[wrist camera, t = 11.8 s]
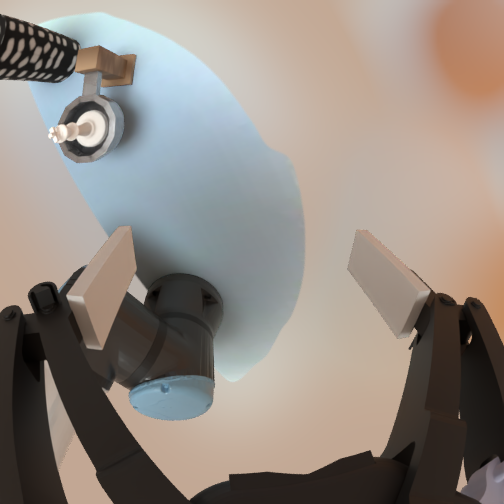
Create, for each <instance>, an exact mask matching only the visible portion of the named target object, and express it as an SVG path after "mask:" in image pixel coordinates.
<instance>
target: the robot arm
mask: <svg viewBox="0 0 504 504" xmlns="http://www.w3.org/2000/svg"><path fill="white" fill-rule="evenodd" d="M347 269H348V271H349V272H350V273H351V275H352V276H353V277H354V279H355V280H356V281H357V282H358V284H359V285H360V287H361V288H362V289H363V291H364V292H365V293H366V295H367V296H368V297H369V299H370V300H371V302H372V303H373V305H374V306H375V307H376V308H377V310H378V312H379V313H380V314H381V316H382V317H383V319H384V320H385V322H386V323H387V325H388V326H389V327H390V329H391V330H392V332H393V333H394V335H395V336H396V338H397V339H401V338H406V337H409V335H410V334H411V332H412V330H413V328H415V329H416V330H417V334H416V337H415V338H414V340H413V342H412V343H411V346H410V347H409V350H410V349H411V348H412V347H413V350H412V355H411V361H410V366H409V370H408V375H407V379H406V384H405V388H404V392H403V395H402V400H401V403H400V407H399V410H398V413H397V417H396V420H395V423H394V426H393V430H392V432H391V435H390V438H389V441H388V444H387V446H386V448H385V450H384V452H383V453H382V455H381V456H380V457H373V456H372V453H371V451H370V450H369V451H366V452H363V453H360V454H357V455H353V456H349V457H345V458H342V459H339V460H337V461H335V462H333V463H331V464H329V465H327V466H325V467H323V468H321V469H319V470H317V471H314V472H312V473H310V474H304V475H303V474H286V473H285V474H284V473H273V472H260V473H247V474H229V481H225V482H221V483H219V484H215V485H213V486H211V487H209V488H206V489H205V490H203V491H201V492H199V493H198V494H197V495H195V496H194V497H193V498H191V499H190V500H187V498H186V497H184V495H183V494H182V493H181V492H180V491H179V490H178V489H177V488H176V487H175V486H174V485H173V484H172V483H171V482H170V481H169V480H168V479H167V477H166V476H165V475H163V473H162V472H161V471H160V469H159V468H158V467H157V466H156V465H155V463H154V462H153V461H152V460H151V459H150V457H149V456H148V455H147V454H146V452H145V451H144V450H143V449H142V448H141V446H140V445H139V444H138V442H137V441H136V440H135V438H134V437H133V435H132V434H131V433H130V431H129V430H128V428H127V427H126V425H125V424H124V423H123V421H122V420H121V418H120V416H119V415H118V413H117V412H116V410H115V409H114V407H113V406H112V404H111V402H110V401H109V399H108V397H107V396H106V394H105V393H107V392H108V391H109V390H110V388H111V386H112V384H113V382H114V381H116V382H117V383H119V384H121V385H122V386H124V387H125V388H127V389H129V390H130V392H129V398H130V403H131V405H132V406H133V408H134V409H135V410H137V411H138V412H140V413H141V414H144V415H146V416H149V417H152V418H156V419H161V420H172V421H173V420H187V419H191V418H195V417H198V416H200V415H202V414H204V413H205V412H206V411H207V410H208V409H209V408H210V407H211V405H212V402H213V391H214V387H215V383H214V355H213V338H214V336H215V334H216V332H217V330H218V328H219V326H220V324H221V321H222V316H223V306H222V300H221V297H220V295H219V294H218V292H217V291H216V289H215V288H214V287H213V286H212V285H211V284H209V283H208V282H206V281H205V280H203V279H201V278H199V277H196V276H193V275H188V274H172V275H167V276H165V277H162V278H160V279H158V280H157V281H156V282H154V283H153V284H152V286H151V287H150V288H149V290H148V292H147V295H146V298H145V302H144V305H143V304H142V303H141V302H140V301H138V300H137V299H136V298H135V297H133V296H132V295H131V294H130V293H128V292H127V289H128V287H129V285H130V283H131V281H132V278H133V276H134V274H135V272H136V270H137V266H136V260H135V253H134V246H133V238H132V230H131V226H119V227H118V228H117V229H116V230H115V231H114V233H113V234H112V235H111V236H110V237H109V239H108V240H107V241H106V242H105V244H104V245H103V246H102V247H101V249H100V250H99V251H98V252H97V254H96V255H95V256H94V258H93V259H92V260H91V262H90V263H89V264H88V265H85V266H83V267H81V268H80V269H78V270H77V271H76V272H74V273H73V275H72V276H71V277H70V278H69V279H68V280H67V281H66V282H65V283H64V285H62V286H61V288H60V289H59V290H57V287H56V285H55V284H54V283H53V282H43V283H39V284H38V285H36V286H34V287H33V288H32V289H31V290H30V291H29V293H28V298H29V301H30V303H31V306H32V308H33V310H34V313H32V314H25V315H23V312H22V310H21V308H20V307H19V306H16V305H13V306H9V307H6V308H5V309H3V310H2V311H1V313H0V504H68V502H67V499H66V497H65V493H64V490H63V487H62V483H61V480H60V476H59V472H58V471H59V469H60V466H61V464H62V461H63V459H64V457H65V454H66V452H67V449H68V447H69V445H70V443H71V441H72V438H73V436H74V434H75V432H76V434H77V436H78V438H79V439H80V441H81V443H82V445H83V447H84V449H85V451H86V453H87V454H88V456H89V458H90V460H91V461H92V463H93V465H94V467H95V468H96V471H97V472H96V476H97V479H98V481H99V483H100V484H101V486H102V488H103V489H104V490H105V492H106V493H107V495H108V496H109V498H110V499H111V500H112V502H113V503H114V504H504V345H503V343H502V341H501V339H500V337H499V334H498V332H497V330H496V328H495V326H494V324H493V322H492V320H491V318H490V316H489V314H488V312H487V310H486V308H485V306H484V305H483V303H481V302H480V300H477V298H472V297H468V298H467V299H466V301H465V303H464V305H457V304H456V301H455V300H454V299H453V298H451V297H450V296H449V295H446V294H443V293H437V294H436V293H435V292H434V291H433V290H432V289H431V288H430V287H429V286H428V285H427V284H426V283H425V282H423V280H422V279H421V278H419V276H418V275H417V274H416V273H415V272H414V271H412V270H411V269H409V268H408V267H407V266H406V265H405V264H404V263H403V262H402V261H400V259H398V258H397V257H396V256H395V255H394V254H393V253H392V252H391V251H390V250H389V249H387V247H385V246H384V245H383V244H382V243H381V242H380V241H379V240H378V239H376V238H375V237H374V236H373V235H372V234H371V233H370V232H368V231H367V230H356V234H355V239H354V243H353V248H352V252H351V256H350V260H349V264H348V268H347ZM471 335H472V339H471V342H470V344H469V343H468V340H469V338H470V337H471ZM459 412H460V419H459V418H458V415H459ZM463 458H464V468H465V475H466V480H467V484H468V485H466V486H465V487H463V488H462V490H461V493H460V492H458V491H456V488H457V484H458V480H459V476H460V471H461V466H462V460H463Z"/></svg>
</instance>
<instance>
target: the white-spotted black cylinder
mask: <svg viewBox="0 0 504 504" xmlns="http://www.w3.org/2000/svg"><path fill="white" fill-rule="evenodd" d="M80 49H81V48H80V45H79V43H78V42H77V41H76V40H74V39H71V38H69V37H66V36H64V35H62V34H59V33H56V32H54V31H51V30H49V29H46V28H43V27H40V26H38V25H35V24H32V23H29V22H25V21H22V20H19V19H16V18H12V17H9V16H5V15H1V14H0V80H24V81H38V82H49V83H58V82H61V81H63V80H65V79H66V78H68V77H69V76H70V75H71V74H72V73H73V71H74V70H75V67H76V61H77V55H78V50H80Z"/></svg>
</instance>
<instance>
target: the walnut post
mask: <svg viewBox="0 0 504 504" xmlns="http://www.w3.org/2000/svg"><path fill="white" fill-rule="evenodd" d="M135 59H136V55H135V54H130V55H121V56H118V55H116V54H115V53H113V52H111V51H109V50H107V49H105V48H103V47H102V46H100V45H99V46H94V47H89V48H84V49H80V50H78V55H77V61H76V67H75V72H77V73H81V74H85V73H88V72H93V71H101V72H102V78H101V79H102V81H101V87H111V86H121V85H132V81H133V73H134V66H135Z"/></svg>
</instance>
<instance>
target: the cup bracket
mask: <svg viewBox="0 0 504 504" xmlns="http://www.w3.org/2000/svg"><path fill="white" fill-rule="evenodd" d="M101 78H102V72H101V71H93V72H88V73H85V77H84V85H83V94H82V96H79V97H78V98H77V99H75V100H74V101H73V102H72V103H70V104H69V105H68V106H67V107H66V108H65V110H64V112H63V114H62V116H61V118H60V121H59V123H58V125H60V124H64V125H67V124H69V123H72V122H73V123H77V121H78V119H79V118H80V116H81V115H83V114H84V113H86V112H88V111H91V110H97V111H100V112H102V113H103V114H104V115H105V116H106V118H107V121H108V131H107V134H106V137H105V138H104V140H103V141H102V142H101V143H100V144H98V145H96V146H94V147H86V146H83V145H81V144H80V143H79V142H78V141H77V139H75V140H73V141H68V140H65V141H64V142H62V143H59V145H60V147H61V149H62V151H63V153H64V155H65V156H67V157H68V158H70V159H71V160H73V161H74V162H76V163H87V162H94V161H96V160H99V159H101V158H102V157H104V156H106V155H107V154H109V153H110V152H112V151H113V150H114V149H115V148H116V146H117V145H118V143H119V142H120V140H121V138H122V135H123V131H124V115H123V112H122V110H121V108H120V106H119V105H118V104H117V103H116V102H115V101H114V100H112V99H110V98H108V97H106V96H104V95H100V86H101Z"/></svg>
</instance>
